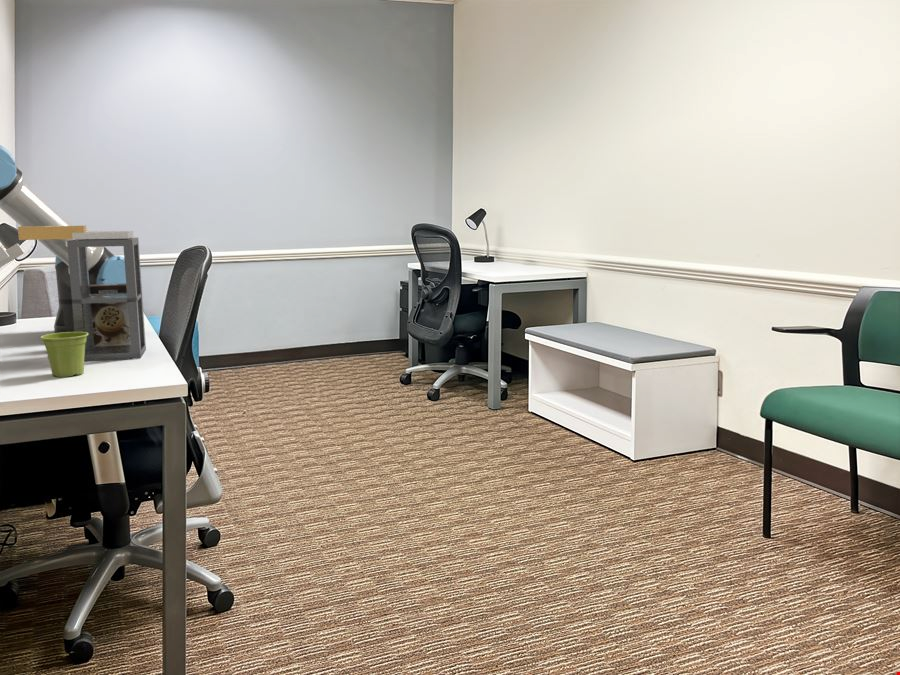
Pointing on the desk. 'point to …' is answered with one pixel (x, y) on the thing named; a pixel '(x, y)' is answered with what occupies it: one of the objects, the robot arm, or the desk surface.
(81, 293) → the rack
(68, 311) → the robot arm
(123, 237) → the blanking panel
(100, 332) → the coffee box
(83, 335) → the plant pot
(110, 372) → the desk surface
